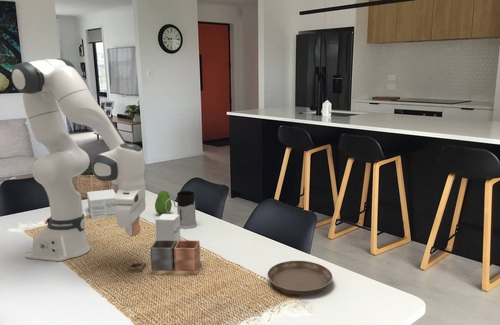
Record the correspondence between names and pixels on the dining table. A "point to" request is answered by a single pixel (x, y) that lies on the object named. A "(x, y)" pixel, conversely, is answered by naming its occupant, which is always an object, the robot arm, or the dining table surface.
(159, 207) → the avocado
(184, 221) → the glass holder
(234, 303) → the dining table surface
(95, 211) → the supplement box
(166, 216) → the supplement box
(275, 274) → the plant saucer
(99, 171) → the robot arm
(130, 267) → the ball stand
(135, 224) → the ball
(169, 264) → the stacked cubby shelf
